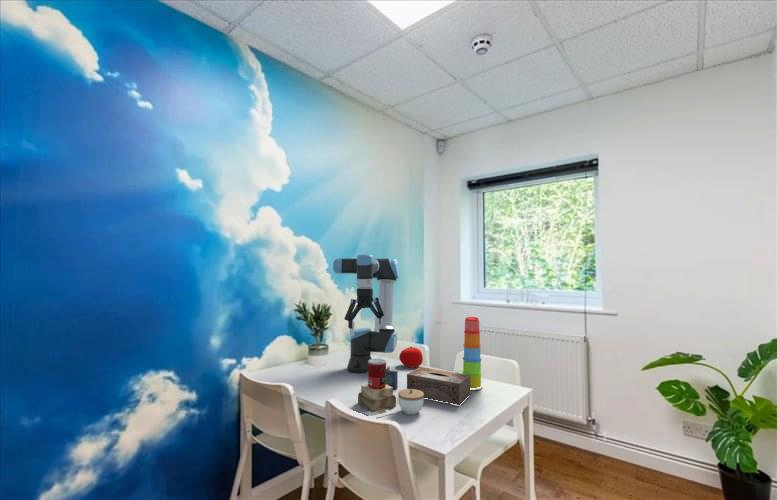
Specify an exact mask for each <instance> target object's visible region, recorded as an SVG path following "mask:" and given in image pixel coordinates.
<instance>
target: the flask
mask: <svg viewBox="0 0 777 500" xmlns="http://www.w3.org/2000/svg"><path fill="white" fill-rule="evenodd" d="M390 368H391V366H390V365H389V366H386V384H387V385H389V386H391V387H393V391H395V390H398V388H399V387H398V385H399V384H398V382H399V380H398V372H399V371H398V370H397V369H390Z"/></svg>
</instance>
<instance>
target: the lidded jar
mask: <svg viewBox="0 0 777 500" xmlns="http://www.w3.org/2000/svg"><path fill="white" fill-rule="evenodd" d="M397 395H398V398H397V399H398V405H399V408H400V409H401V411H402V412H403V414H405V413H406V414H405V415H407V414H416V415H418V414H419V413H420V411H421V410H422V408H423V406H424V400H425V399H424V393H423V392H422V391H420V390H416V389H407V388H405V389H402V390H399V391H398V393H397ZM417 413H418V414H417Z"/></svg>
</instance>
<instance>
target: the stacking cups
mask: <svg viewBox="0 0 777 500" xmlns="http://www.w3.org/2000/svg"><path fill="white" fill-rule="evenodd" d="M463 333H464V337H463V338H464V343H463V345H462V346H463V357H462V360H463V366H462V368H463V370H462V371H461V374H467V375H470V388H477V387H480V386H481V385H482V375H483V372H482V366H481V365H482V360H483V359H482V357H481V347H482V345H481V330H480V319H479V318H478V317H475V316H467V317H465V319H464V331H463Z"/></svg>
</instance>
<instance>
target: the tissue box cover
mask: <svg viewBox="0 0 777 500" xmlns="http://www.w3.org/2000/svg"><path fill="white" fill-rule="evenodd" d="M406 389H416V390H420V391H422V392H423V393H424V398H428V399H433V400H438V401H443V402H448V403H453V404H457V405H460V404H461V403H462V402H463V401H464V400H465V399H466V398H467V397H468V396H469V395H470V396H471V390H470V375H467V374H463V373H462V372H461V373H459V372H454V371H448V370H442V369H437V368H432V367H431V368H429V367H424V366H420V367H419V366H418V367H416V369H414V370H411V371H410V372H408V373H407V374H406Z"/></svg>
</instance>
